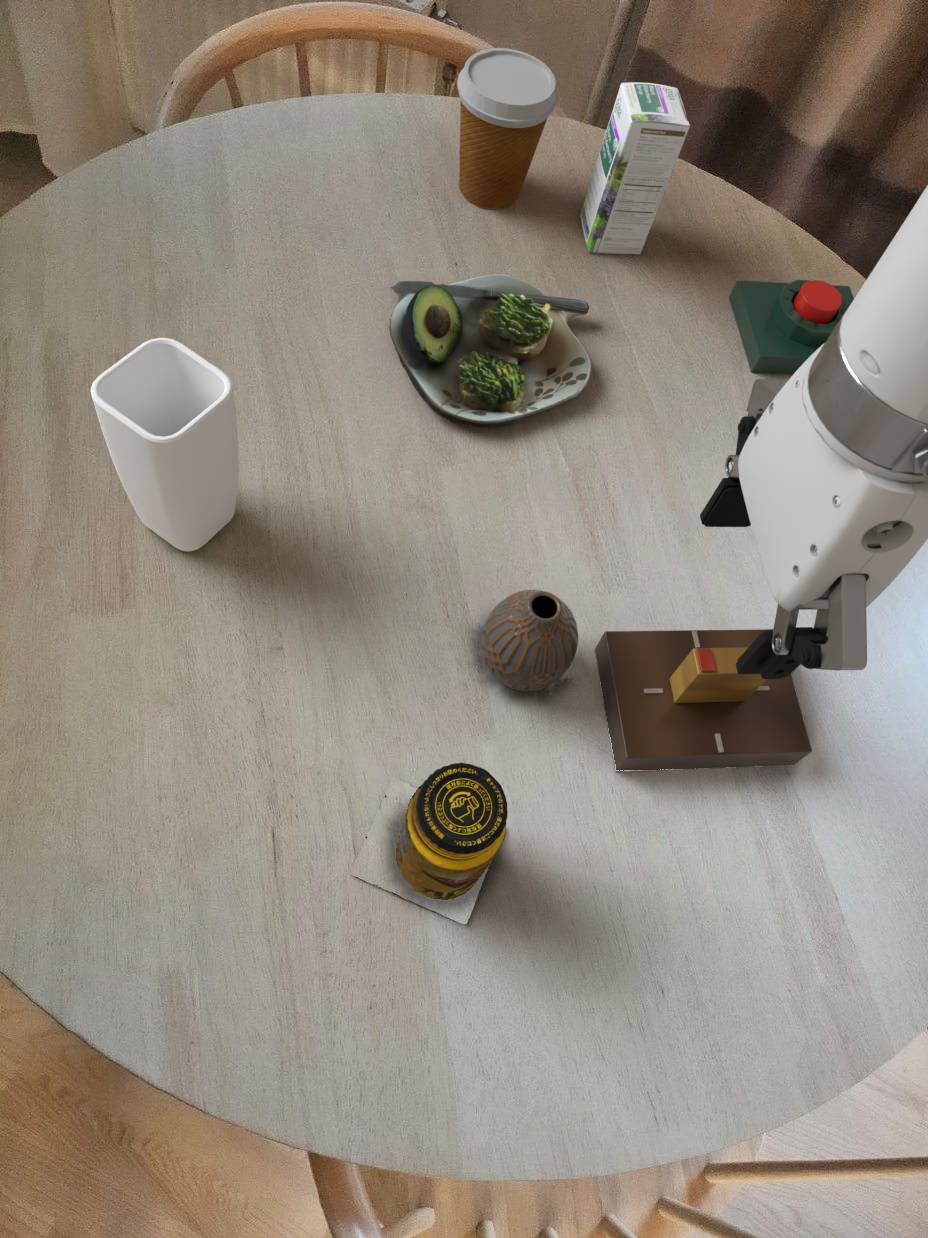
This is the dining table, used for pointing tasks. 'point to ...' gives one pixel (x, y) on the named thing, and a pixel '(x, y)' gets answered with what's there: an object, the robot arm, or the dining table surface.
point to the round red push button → (817, 301)
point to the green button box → (779, 325)
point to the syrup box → (633, 167)
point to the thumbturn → (713, 677)
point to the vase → (530, 640)
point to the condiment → (451, 830)
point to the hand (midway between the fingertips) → (742, 592)
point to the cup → (172, 439)
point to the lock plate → (692, 707)
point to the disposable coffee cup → (501, 123)
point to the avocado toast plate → (488, 348)
